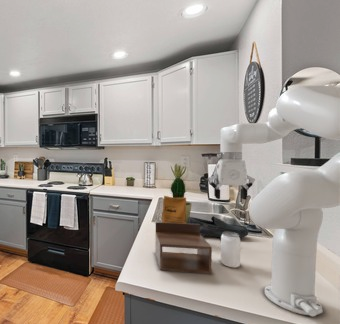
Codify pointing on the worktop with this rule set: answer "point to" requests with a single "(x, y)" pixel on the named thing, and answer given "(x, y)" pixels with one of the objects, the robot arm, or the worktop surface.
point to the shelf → (182, 238)
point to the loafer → (217, 227)
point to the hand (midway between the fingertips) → (230, 198)
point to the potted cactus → (180, 194)
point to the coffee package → (174, 210)
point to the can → (230, 249)
